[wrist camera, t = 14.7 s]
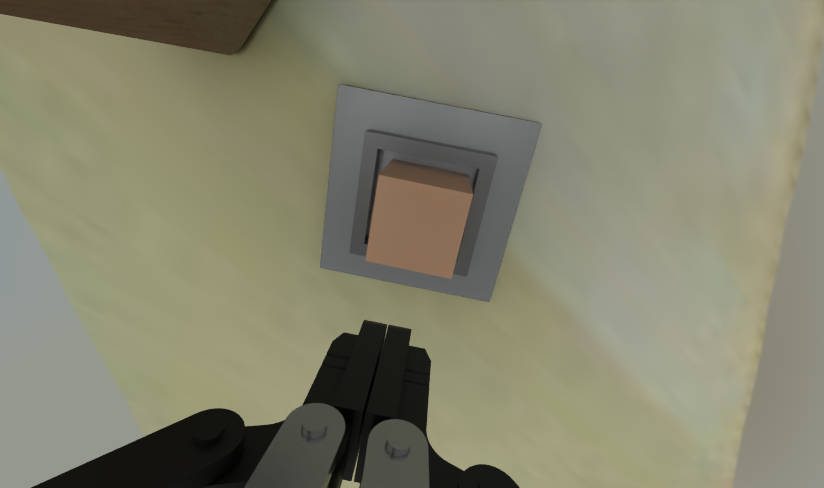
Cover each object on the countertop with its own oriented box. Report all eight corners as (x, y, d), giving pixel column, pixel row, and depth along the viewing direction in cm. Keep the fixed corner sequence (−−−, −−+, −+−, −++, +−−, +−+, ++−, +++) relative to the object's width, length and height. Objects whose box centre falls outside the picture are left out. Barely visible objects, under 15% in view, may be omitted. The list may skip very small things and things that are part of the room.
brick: (392, 158, 28) (378, 174, 22) (468, 174, 27) (473, 194, 22) (381, 229, 30) (365, 260, 24) (450, 244, 29) (451, 279, 24)
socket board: (342, 84, 27) (331, 83, 25) (538, 122, 27) (547, 125, 24) (323, 262, 32) (314, 275, 30) (488, 296, 32) (491, 311, 30)
